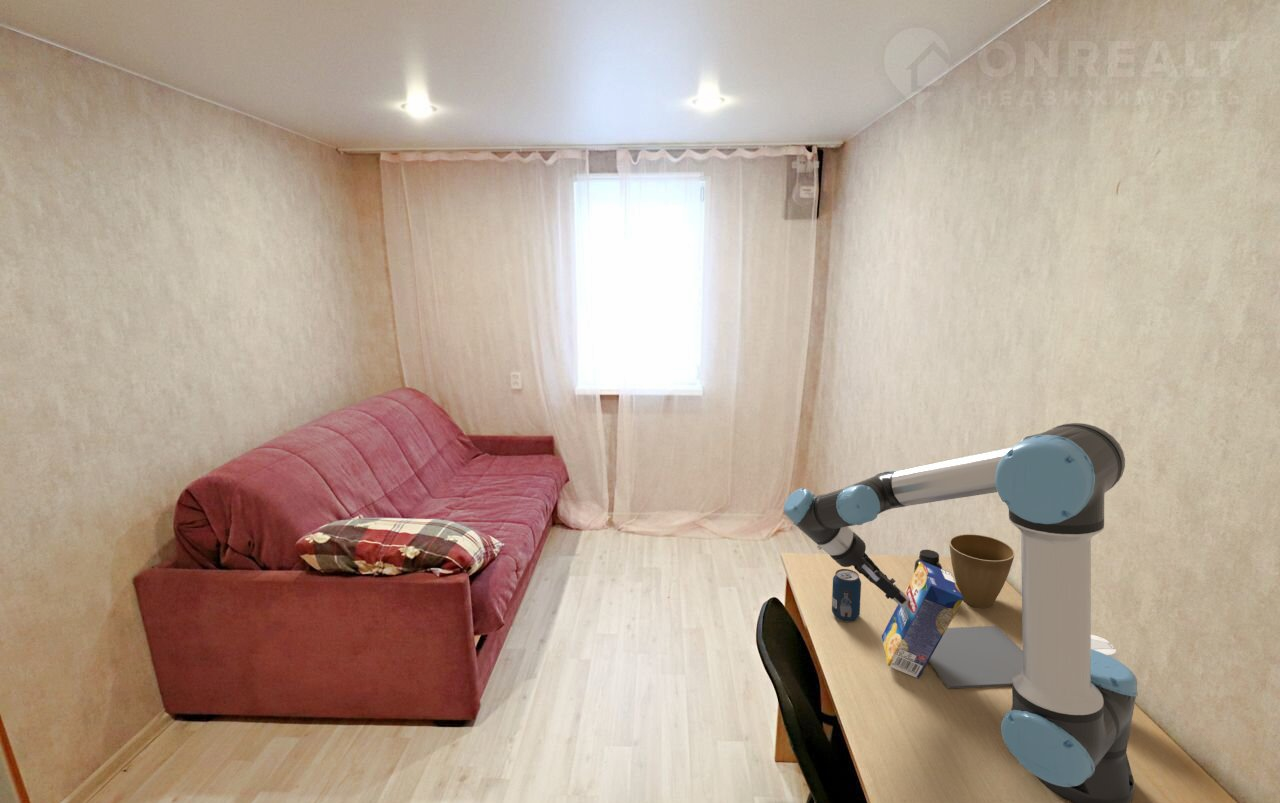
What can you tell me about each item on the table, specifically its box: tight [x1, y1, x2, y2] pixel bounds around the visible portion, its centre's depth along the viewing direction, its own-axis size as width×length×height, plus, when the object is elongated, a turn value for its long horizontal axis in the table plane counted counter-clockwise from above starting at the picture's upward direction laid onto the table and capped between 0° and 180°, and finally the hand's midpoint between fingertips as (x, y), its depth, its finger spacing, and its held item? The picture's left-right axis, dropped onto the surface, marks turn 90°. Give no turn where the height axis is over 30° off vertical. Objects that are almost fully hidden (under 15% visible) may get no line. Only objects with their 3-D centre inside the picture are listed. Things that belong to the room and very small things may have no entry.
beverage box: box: [881, 561, 964, 679], centre depth 129 cm, size 7×11×22 cm, turn 165°
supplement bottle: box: [913, 549, 943, 574], centre depth 158 cm, size 7×7×12 cm
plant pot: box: [948, 533, 1016, 609], centre depth 153 cm, size 15×15×16 cm
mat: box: [927, 625, 1023, 690], centre depth 133 cm, size 20×23×1 cm
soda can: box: [831, 568, 862, 623], centre depth 149 cm, size 7×7×12 cm
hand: (910, 606), depth 131 cm, fingers closed
